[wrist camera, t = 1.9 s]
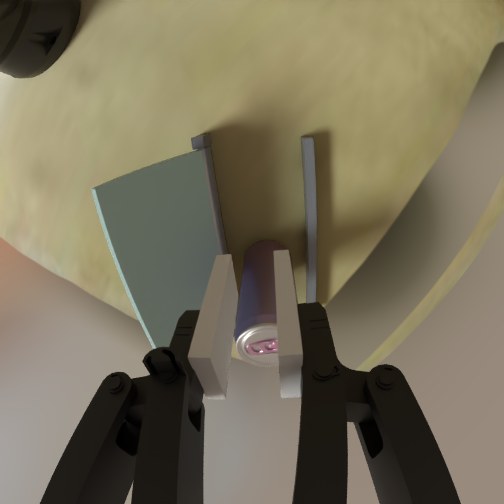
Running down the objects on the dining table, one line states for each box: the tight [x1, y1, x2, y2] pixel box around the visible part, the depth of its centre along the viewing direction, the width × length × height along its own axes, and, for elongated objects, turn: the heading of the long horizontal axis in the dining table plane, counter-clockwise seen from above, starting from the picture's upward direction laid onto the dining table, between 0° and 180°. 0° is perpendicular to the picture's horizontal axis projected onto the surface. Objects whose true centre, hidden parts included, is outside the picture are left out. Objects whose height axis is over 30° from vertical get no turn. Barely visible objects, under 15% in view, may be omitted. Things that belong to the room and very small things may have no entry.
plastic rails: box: [191, 133, 317, 337], centre depth 32 cm, size 27×12×4 cm, turn 6°
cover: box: [91, 149, 236, 349], centre depth 27 cm, size 24×13×1 cm
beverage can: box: [235, 240, 298, 367], centre depth 29 cm, size 6×6×15 cm
